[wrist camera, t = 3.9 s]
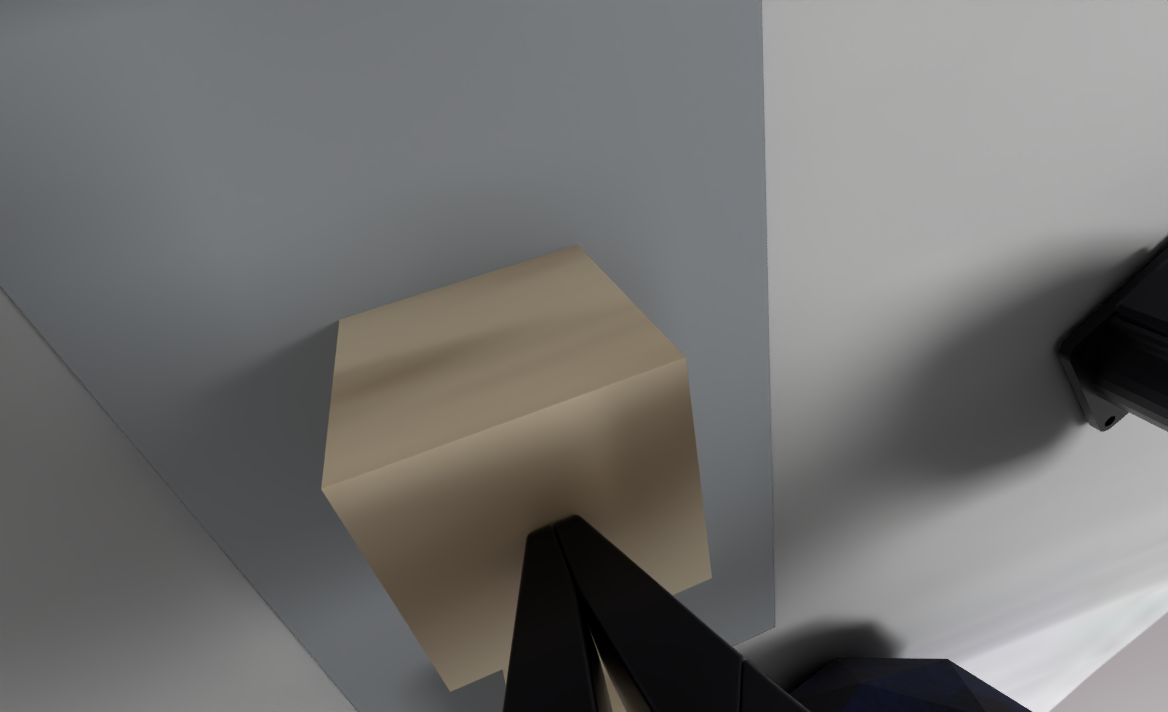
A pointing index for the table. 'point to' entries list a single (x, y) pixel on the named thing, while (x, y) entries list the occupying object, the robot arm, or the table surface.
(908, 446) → the table surface
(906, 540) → the table surface
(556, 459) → the plain block
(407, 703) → the mat
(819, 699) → the decorative orb
